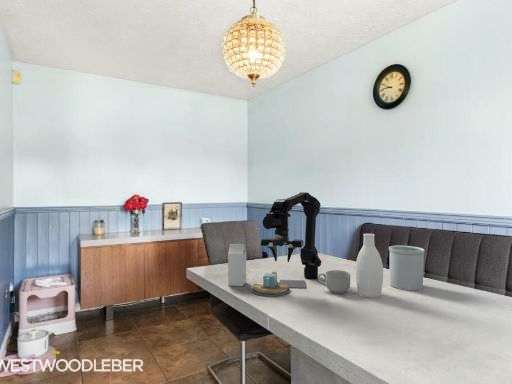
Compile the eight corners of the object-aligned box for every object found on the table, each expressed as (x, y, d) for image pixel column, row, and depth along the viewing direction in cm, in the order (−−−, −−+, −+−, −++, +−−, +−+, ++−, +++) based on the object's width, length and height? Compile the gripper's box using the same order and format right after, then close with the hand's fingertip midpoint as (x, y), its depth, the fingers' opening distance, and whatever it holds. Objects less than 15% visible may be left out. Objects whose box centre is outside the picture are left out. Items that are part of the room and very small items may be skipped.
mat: (304, 281, 157) (304, 280, 157) (306, 288, 146) (306, 287, 146) (279, 280, 158) (279, 279, 158) (279, 287, 147) (279, 287, 147)
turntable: (258, 282, 153) (258, 271, 153) (291, 284, 148) (291, 273, 148) (247, 292, 138) (247, 279, 138) (284, 295, 133) (284, 282, 133)
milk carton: (242, 286, 149) (242, 245, 149) (228, 285, 150) (227, 245, 150) (246, 282, 156) (246, 243, 156) (232, 281, 157) (232, 242, 157)
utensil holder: (429, 285, 148) (428, 247, 148) (418, 293, 137) (418, 252, 137) (396, 280, 158) (395, 244, 158) (384, 286, 147) (383, 248, 147)
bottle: (363, 288, 144) (362, 231, 144) (388, 294, 136) (387, 234, 136) (350, 294, 136) (350, 234, 136) (376, 300, 128) (375, 236, 128)
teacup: (352, 289, 143) (352, 271, 143) (348, 296, 134) (348, 277, 134) (321, 285, 149) (321, 268, 149) (315, 292, 140) (315, 274, 140)
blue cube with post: (266, 284, 146) (266, 273, 146) (277, 285, 145) (277, 273, 145) (261, 289, 139) (261, 277, 139) (273, 290, 137) (272, 278, 137)
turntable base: (289, 285, 151) (289, 283, 151) (290, 296, 134) (290, 295, 134) (253, 284, 152) (253, 283, 152) (249, 296, 135) (249, 294, 135)
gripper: (256, 228, 141) (256, 264, 141) (298, 229, 135) (298, 267, 135) (264, 226, 152) (264, 259, 152) (303, 227, 146) (304, 261, 146)
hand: (282, 261), depth 146 cm, fingers open, 5 cm apart
